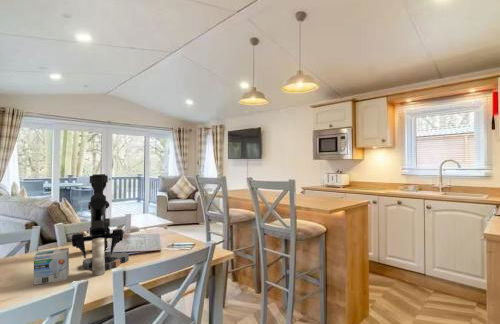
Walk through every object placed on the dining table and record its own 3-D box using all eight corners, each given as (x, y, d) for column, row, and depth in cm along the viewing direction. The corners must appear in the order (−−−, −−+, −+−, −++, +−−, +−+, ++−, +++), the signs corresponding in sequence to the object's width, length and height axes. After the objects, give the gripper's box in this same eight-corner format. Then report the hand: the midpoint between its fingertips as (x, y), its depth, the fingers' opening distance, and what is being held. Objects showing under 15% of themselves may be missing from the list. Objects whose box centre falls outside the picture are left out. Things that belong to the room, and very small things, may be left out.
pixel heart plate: (78, 268, 121) (78, 262, 121) (103, 256, 136) (103, 250, 136) (110, 271, 118) (110, 265, 118) (132, 258, 133) (132, 252, 133)
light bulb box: (33, 285, 104) (32, 256, 104) (36, 278, 110) (36, 251, 110) (67, 279, 109) (67, 252, 109) (69, 273, 115) (69, 247, 115)
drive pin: (89, 275, 113) (89, 240, 113) (97, 271, 117) (97, 237, 117) (99, 276, 112) (99, 241, 112) (107, 272, 117) (106, 238, 116)
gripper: (71, 214, 114) (69, 249, 104) (122, 210, 122) (124, 242, 113) (73, 229, 121) (71, 263, 111) (121, 224, 129) (123, 256, 120)
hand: (98, 256), depth 114 cm, fingers open, 9 cm apart
